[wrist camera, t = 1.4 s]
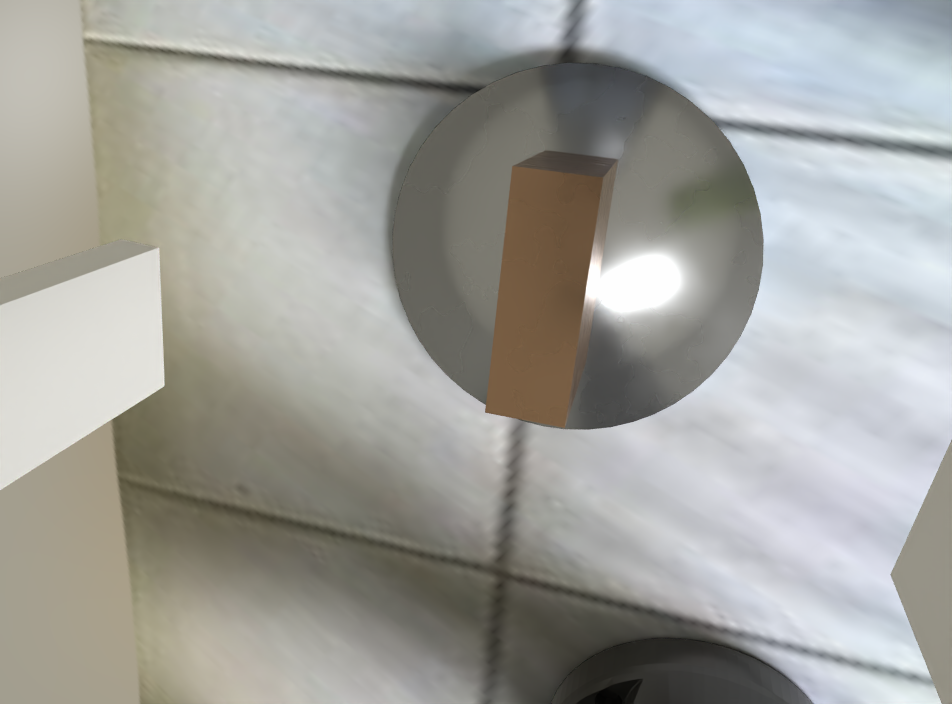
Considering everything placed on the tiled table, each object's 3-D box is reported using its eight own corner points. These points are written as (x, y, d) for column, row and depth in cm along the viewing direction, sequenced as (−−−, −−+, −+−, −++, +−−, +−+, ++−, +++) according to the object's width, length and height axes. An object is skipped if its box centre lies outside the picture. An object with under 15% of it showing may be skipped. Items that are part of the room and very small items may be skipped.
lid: (716, 448, 34) (728, 548, 27) (392, 386, 38) (321, 459, 30) (802, 84, 29) (848, 82, 21) (412, 46, 32) (331, 33, 24)
